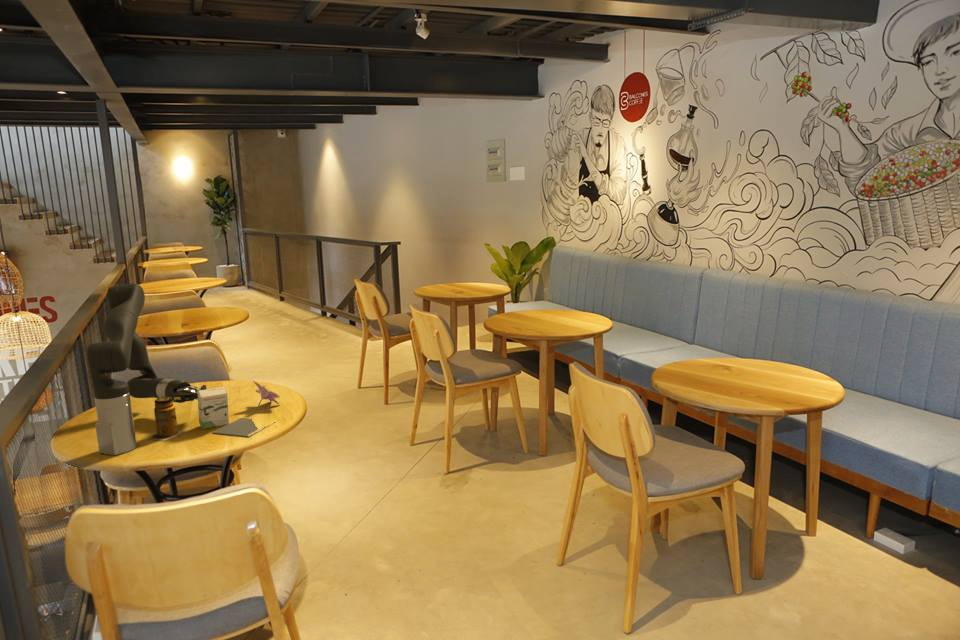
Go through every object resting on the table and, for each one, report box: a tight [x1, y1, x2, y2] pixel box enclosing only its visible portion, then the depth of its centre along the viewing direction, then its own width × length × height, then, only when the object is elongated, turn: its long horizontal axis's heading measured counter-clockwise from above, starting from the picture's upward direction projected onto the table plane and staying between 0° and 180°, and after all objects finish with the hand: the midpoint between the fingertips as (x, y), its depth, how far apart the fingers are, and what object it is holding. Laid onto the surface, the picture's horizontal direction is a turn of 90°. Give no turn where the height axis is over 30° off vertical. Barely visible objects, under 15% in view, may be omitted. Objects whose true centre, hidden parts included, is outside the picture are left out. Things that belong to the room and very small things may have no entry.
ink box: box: [197, 386, 230, 430], centre depth 216 cm, size 9×5×12 cm, turn 123°
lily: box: [252, 380, 280, 409], centre depth 234 cm, size 12×12×10 cm
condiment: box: [146, 397, 185, 442], centre depth 209 cm, size 7×8×12 cm
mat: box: [212, 417, 266, 438], centre depth 214 cm, size 14×14×1 cm
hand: (208, 396), depth 217 cm, fingers closed
